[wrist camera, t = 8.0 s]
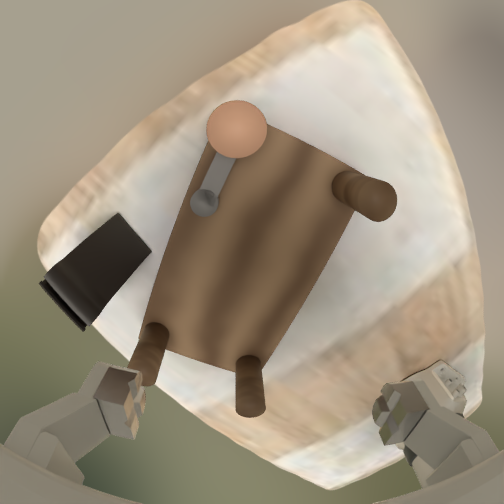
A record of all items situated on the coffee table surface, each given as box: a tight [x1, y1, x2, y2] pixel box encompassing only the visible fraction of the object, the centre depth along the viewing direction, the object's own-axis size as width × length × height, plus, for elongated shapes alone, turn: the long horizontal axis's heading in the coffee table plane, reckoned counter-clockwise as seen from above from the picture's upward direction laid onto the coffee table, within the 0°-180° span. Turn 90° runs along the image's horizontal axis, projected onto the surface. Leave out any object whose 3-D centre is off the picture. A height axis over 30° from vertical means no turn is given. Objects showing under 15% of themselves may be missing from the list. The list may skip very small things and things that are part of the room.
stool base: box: [127, 124, 397, 418], centre depth 28 cm, size 16×28×10 cm, turn 156°
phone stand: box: [39, 213, 151, 331], centre depth 26 cm, size 9×6×12 cm, turn 127°
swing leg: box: [190, 100, 267, 217], centre depth 22 cm, size 10×4×8 cm, turn 154°
